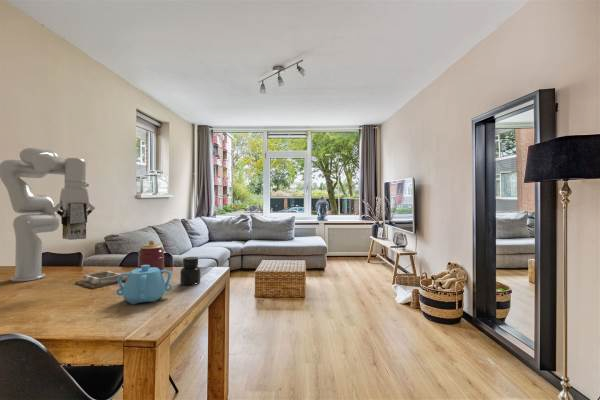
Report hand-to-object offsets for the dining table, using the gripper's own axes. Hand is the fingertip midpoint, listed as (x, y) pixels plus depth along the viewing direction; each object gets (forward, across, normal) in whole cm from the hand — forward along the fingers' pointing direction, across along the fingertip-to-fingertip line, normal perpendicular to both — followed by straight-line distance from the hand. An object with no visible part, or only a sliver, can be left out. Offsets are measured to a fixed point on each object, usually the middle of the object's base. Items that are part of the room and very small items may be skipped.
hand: (74, 224), depth 132 cm
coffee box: (+6, 0, 0) cm, 6 cm away
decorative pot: (+28, -8, +43) cm, 52 cm away
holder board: (+28, -11, +3) cm, 30 cm away
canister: (+28, -34, +4) cm, 44 cm away
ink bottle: (+28, -33, +38) cm, 58 cm away
